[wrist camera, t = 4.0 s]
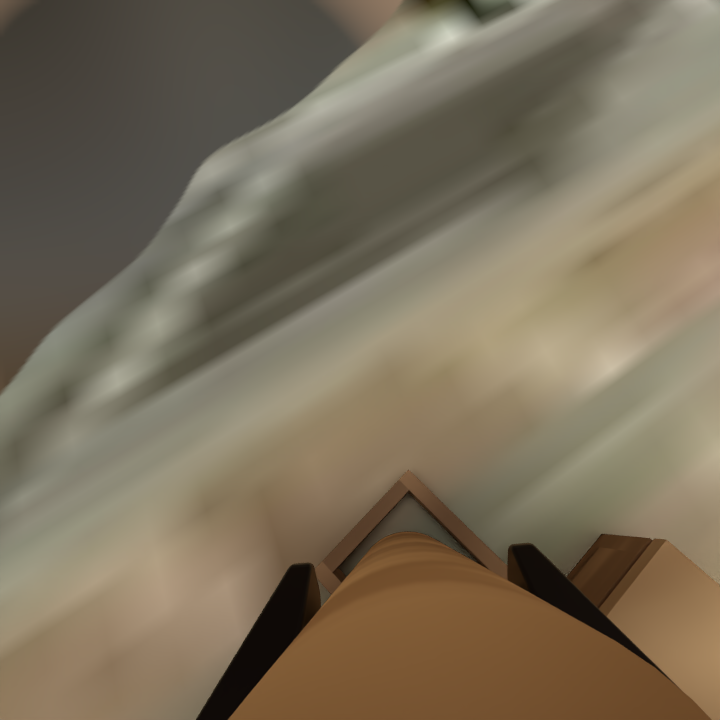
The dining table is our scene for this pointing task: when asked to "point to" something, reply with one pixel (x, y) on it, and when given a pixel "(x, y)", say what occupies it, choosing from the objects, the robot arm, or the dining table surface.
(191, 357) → the dining table surface
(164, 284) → the dining table surface
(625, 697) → the key peg
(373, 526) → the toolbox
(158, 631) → the dining table surface
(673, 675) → the lid
